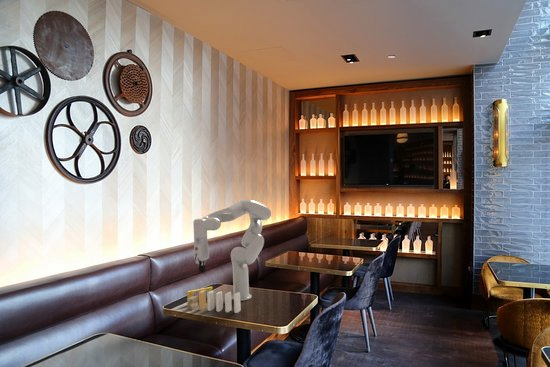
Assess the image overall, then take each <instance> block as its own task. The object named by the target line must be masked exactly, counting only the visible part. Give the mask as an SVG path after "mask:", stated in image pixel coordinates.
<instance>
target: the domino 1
mask: <svg viewBox="0 0 550 367" xmlns="http://www.w3.org/2000/svg"><path fill="white" fill-rule="evenodd" d="M206 308H207V302H206V291H205V290H202V291H201V292H199V303H198V310H199V311H203V310H204V309H206Z"/></svg>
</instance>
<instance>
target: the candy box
mask: <svg viewBox="0 0 550 367" xmlns="http://www.w3.org/2000/svg"><path fill="white" fill-rule="evenodd" d="M213 288H214V287H213V286H207V287H204V288H198V289H197V288H196V289H193V290H188V291H186V293H187V300H186V301H187V302H186V304H187V306H188V298H190V297H192V296H197V297H198V304H199V292H201V291H202V290H205V291H206V303H207V293H208V292H210V291H214V289H213Z"/></svg>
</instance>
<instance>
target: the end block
mask: <svg viewBox="0 0 550 367" xmlns="http://www.w3.org/2000/svg"><path fill="white" fill-rule="evenodd" d="M197 308H199V303H198V297H197V296H192V297H190V298H188V305H187V310H190V311H192V310H194V309H197Z"/></svg>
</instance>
